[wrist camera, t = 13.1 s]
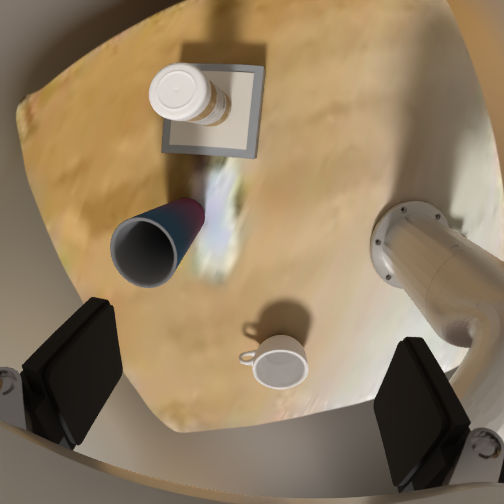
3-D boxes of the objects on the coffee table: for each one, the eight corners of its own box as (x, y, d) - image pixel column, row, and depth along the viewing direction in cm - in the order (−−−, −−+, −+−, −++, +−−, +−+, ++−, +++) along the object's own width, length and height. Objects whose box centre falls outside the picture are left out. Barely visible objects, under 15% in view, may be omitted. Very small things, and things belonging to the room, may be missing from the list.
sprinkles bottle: (194, 88, 32) (150, 62, 20) (234, 90, 32) (209, 60, 19) (190, 126, 34) (144, 119, 21) (230, 128, 34) (203, 120, 21)
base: (265, 73, 35) (263, 65, 31) (256, 157, 39) (254, 159, 35) (180, 70, 35) (169, 63, 31) (172, 151, 39) (160, 152, 35)
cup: (170, 184, 40) (117, 206, 26) (218, 201, 41) (186, 232, 27) (157, 230, 43) (105, 272, 29) (202, 247, 43) (167, 298, 29)
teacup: (309, 329, 46) (312, 350, 41) (302, 368, 49) (304, 390, 43) (242, 324, 47) (238, 345, 42) (240, 363, 49) (236, 385, 44)
